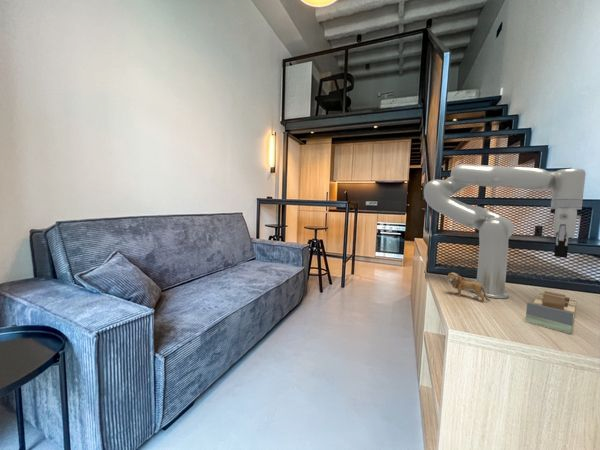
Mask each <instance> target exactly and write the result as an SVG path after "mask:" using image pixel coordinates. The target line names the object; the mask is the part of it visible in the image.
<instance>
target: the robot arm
mask: <svg viewBox="0 0 600 450" xmlns="http://www.w3.org/2000/svg"><path fill="white" fill-rule="evenodd" d="M586 175H587V174H586V170H585V169H583V168H565V169H558V170H556V171H548V170H546V169H544V168H539V167H523V166H522V167H520V166H503V165H501V166H500V165H486V164H485V165H484V164H473V163H472V164H471V163H468V164H467V163H461V164H457V165H455V166H454V167H453V168H452V169H451V171H450V176H449V177H447V178H445V179H443V180H442V179H431V180H430V181H428V182H427V183H426V184H425V185H424V188H423V197H424V200H425V202H426V203H427V205H428V206H429V207H430V208H431V209H433V210H434V211H436V212H437V213H439V214H442V215H443V216H444V217H446V218H448V219H450V220H452V221H453V222H456V223H458V225H461V226H463V227H466V228H474V229H475V230H478V232H479V233H478V239H479V243H478V244H479V247H478V248H479V249H478V260H477V261H478V263H477V272H476V279H474V280H473V281H471V282H477V283H480V284H481V285H482V286H483V287H484V290H485V294H486V297H487V298H490V299H491V298H493V299H500V300H501V299H502V300H503V299H508V298H509V297H510V294H509V292H507V291H505V288H506V278H507V268H508V267H507V266H508V257H509V239H510V237H511V236H512V235H513V234H514V232H515V225H514V223H513V222H512V221H511V220H510V219H508V218H507V217H504V216H502V215H501V214H498V213H495V212H493V211H491V210H488V209H486V208H484V207H482V206H477V205H470V204H467V203H464V202H462V201H460V200H458V199H456V198H453V197H451V196H453V195H455V194H457V193H459V192H461V191H462V190H464V189H466V188H467V187H469V186H479V187H487V188H497V187H498V188H499V187H502V188H503V187H504V188H514V189H521V190H522V189H523V190H532V191H534V192H546V191H552V192H551V201H550V209H551V210H554V217H553V218H554V220H553V236H554V237H555V238H556V239H555V240H556V241H555V245H554V253H553V257H555V258H564V259H565V258H568V255H569V254H568V253H569V252H568V251H569V237H570V238H571V239H574V238H575V236H576V228H577V227H576V226H577V219H578V210H582V209H583V208H582V207H583V200H584V191H585V182H586ZM471 291H472V292H473V293H475V294H476V292H475V291H474V290H471ZM481 293H482V295H483V296H484V293H483V290H482V289H481ZM484 297H485V296H484Z"/></svg>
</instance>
